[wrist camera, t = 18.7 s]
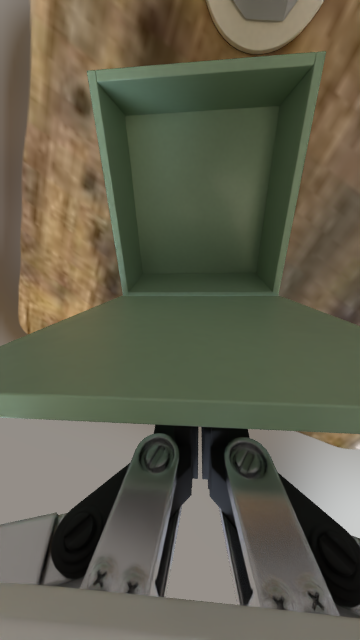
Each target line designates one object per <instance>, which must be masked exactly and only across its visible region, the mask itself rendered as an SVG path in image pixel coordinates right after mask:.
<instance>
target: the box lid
mask: <svg viewBox="0 0 360 640" xmlns="http://www.w3.org/2000/svg"><path fill="white" fill-rule="evenodd" d="M0 417H3V418H25V419H46V420H68V421H90V422H112V423H133V424H155V425H177V426H198V427H220V428H242V429H264V430H287V431H307V432H329V433H350V434H360V326H358V325H355V324H353V323H350V322H347V321H345V320H342V319H339V318H337V317H334V316H331V315H329V314H326V313H323V312H321V311H318V310H316V309H313V308H310V307H308V306H305V305H302V304H300V303H297V302H294V301H292V300H289V299H287V298H284V297H281V296H120V297H118V298H116V299H113V300H111V301H108V302H106V303H103V304H101V305H99V306H96V307H94V308H91V309H89V310H87V311H84V312H82V313H79V314H77V315H75V316H72V317H70V318H67V319H65V320H62V321H60V322H58V323H55V324H53V325H50V326H48V327H46V328H43V329H41V330H38V331H36V332H33V333H31V334H29V335H26V336H24V337H21V338H19V339H17V340H14V341H12V342H9V343H7V344H5V345H2V346H0Z"/></svg>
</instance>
